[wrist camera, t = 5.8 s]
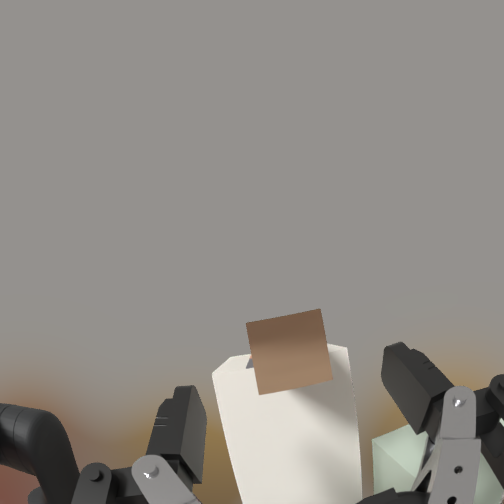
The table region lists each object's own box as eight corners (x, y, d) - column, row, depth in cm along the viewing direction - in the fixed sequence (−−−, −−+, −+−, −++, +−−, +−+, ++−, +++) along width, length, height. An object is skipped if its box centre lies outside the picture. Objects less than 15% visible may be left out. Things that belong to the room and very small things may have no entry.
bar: (333, 379, 10) (320, 308, 11) (258, 395, 10) (245, 323, 10) (284, 344, 33) (280, 321, 34) (260, 349, 33) (256, 326, 34)
